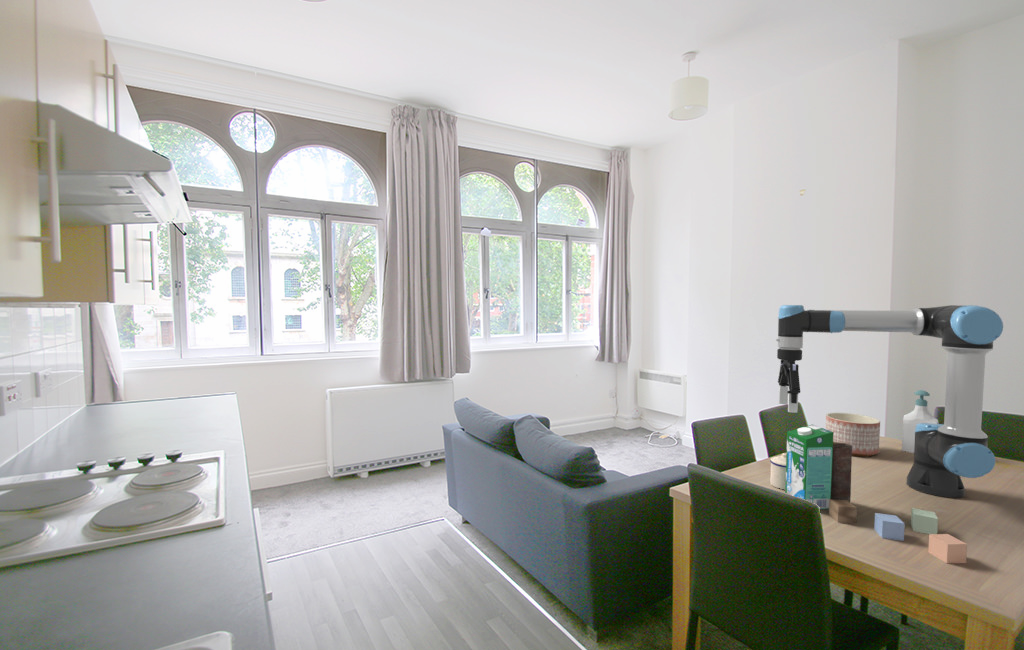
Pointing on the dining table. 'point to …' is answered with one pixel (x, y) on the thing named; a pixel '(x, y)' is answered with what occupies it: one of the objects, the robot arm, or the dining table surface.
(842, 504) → the walnut cube
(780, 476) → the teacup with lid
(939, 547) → the terracotta cube
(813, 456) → the milk carton
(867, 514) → the dining table surface
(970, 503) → the dining table surface
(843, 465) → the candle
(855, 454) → the planter
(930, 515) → the sage cube
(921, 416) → the soap bottle
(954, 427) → the robot arm
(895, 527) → the slate blue cube
